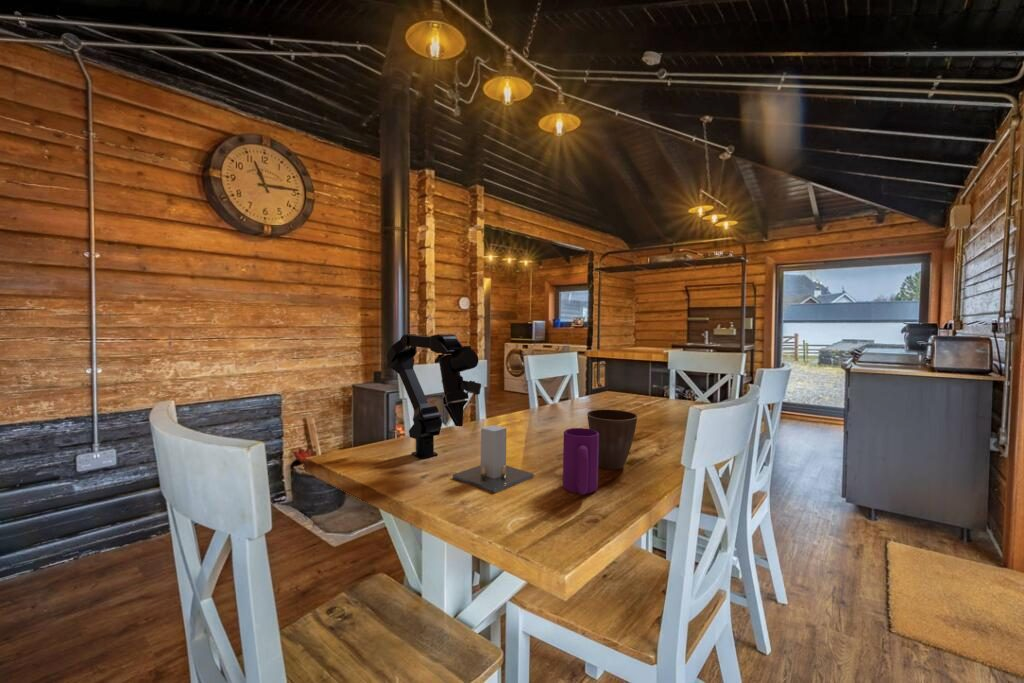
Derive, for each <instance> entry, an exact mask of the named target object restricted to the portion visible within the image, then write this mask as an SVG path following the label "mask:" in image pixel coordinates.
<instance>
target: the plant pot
mask: <svg viewBox="0 0 1024 683" xmlns="http://www.w3.org/2000/svg"><path fill="white" fill-rule="evenodd" d="M586 415H587V421H588V429H591V430H595V431H597V432H598V433H599V454H598V467H600V468H602V469H605V470H611V471H615V470H621V469H623V468H624V466H625V464H626V462H627V460H628V457H629V454H630V451H631V449H632V444H633V442H634V437H635V433H636V428H637V421H638V417H639V416H638V414H636V413H633V412H630V411H626V410H620V409H619V410H618V409H594V410H590V411H587V413H586Z"/></svg>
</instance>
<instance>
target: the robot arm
mask: <svg viewBox="0 0 1024 683" xmlns="http://www.w3.org/2000/svg"><path fill="white" fill-rule="evenodd" d="M417 348H425V349H430V351H431V352H433V353H436V354H438V355H437V357H436V358H435V360H434V363H435V364H439V369H440V376H441V384H442V387H443V397H442V399H441V400H442V405H443V408H444V409H445V411H446V412H447V414H448V415H449V417H450V419H451V420H452V422H453V424H454V425H455V427H463V426H464V425H463V424H464V410H465V409H464V407H465V406H466V404H467V403H468V401H469V400H468V399H470V398H469V394H473V395H475V396H477V395H480V393H481V387H482V383H479V382H476V381H475V380H471V379H470V380H469V381H468V380H464V377H463V376H462V375H461V372H465V371H468V370H471V369H474V368H476V367H477V366H478V365H479V356H478V355H477V353H476V352H475V350H473V349H472V346H471V345H464V346H463V344H462V342H460V341H459V339H458V338H457V335H456V334H454V333H453V334H450V333H448V334H435V335H434V334H433V335H423V334H422V335H420V334H416V333H406V334H403V335H402V336H401V337H400V339H399V340H397V342H395V343H394V344H392V345H391V347H390V349H389V350H388V351H387V354H386V361H387V362H388V364H389V366H390V368H391V369H392V370H393V371H395V372H396V373H397V374H399V376H400V379H401V382H402V384H403V387H404V389H405V391H406V394H407V396H408V398H409V400H410V403H411V405H412V408H413V411H414V412H413V417H412V421H413V424H412V426H411V427H410V428H409V430H408V434H409V438H411V439H414V440H415V451H412V452H411V455H413V456H414V457H416V458H418V459H425V458H431V457H435V456H436V457H437V456H438V455H439V454H438V453H437V452H435V450H434V449H435V448H434V447H435V446H434V445H435V443H434V439H435V438H434V437H435V436H439V435H440V434H441V429H442V425H443V420H442V415H441V413H440V412H439V408H438V407H437V406H436V405H433V406H432V405H430V404H429V402H428V400H427V397H426V395H425V393H424V390H423V388H422V386H421V384H420V381H419V379H418V376H417V374H416V372H415V369H414V366H415V361H416V360H415V358H414V357H415V356H416V355H417V353H418V351H417Z"/></svg>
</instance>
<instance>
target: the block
mask: <svg viewBox="0 0 1024 683" xmlns="http://www.w3.org/2000/svg"><path fill="white" fill-rule="evenodd" d="M480 465H481V475H482V467H483V466H485V467H486V476H487V477H490V478H493V479H494V478H497V477H499V476H501V467H502V466H505V467H506V466H507V427H504V426H498V425H493V424H492V425H488V426H485V427H481V428H480Z"/></svg>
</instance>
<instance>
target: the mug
mask: <svg viewBox="0 0 1024 683" xmlns="http://www.w3.org/2000/svg"><path fill="white" fill-rule="evenodd" d="M562 450H563V453H562V456H563V457H562V487H563V488H564V489H565V490H566V491H568V492H570V493H573V494H579V495H587V494H592V493H593V492H597V489H598V485H599V464H598V454H599V433H598V432H597V431H595V430H591V429H589V428H583V427H573V428H567V429H565V430H564V431H563V448H562Z"/></svg>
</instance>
